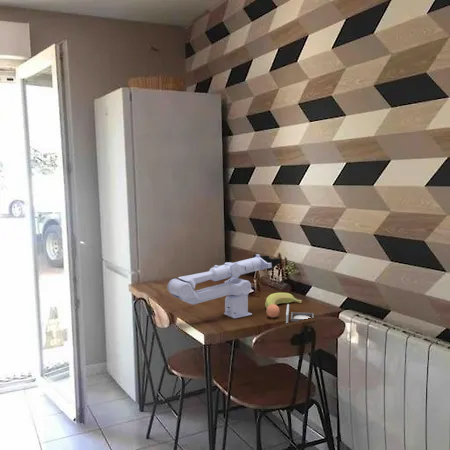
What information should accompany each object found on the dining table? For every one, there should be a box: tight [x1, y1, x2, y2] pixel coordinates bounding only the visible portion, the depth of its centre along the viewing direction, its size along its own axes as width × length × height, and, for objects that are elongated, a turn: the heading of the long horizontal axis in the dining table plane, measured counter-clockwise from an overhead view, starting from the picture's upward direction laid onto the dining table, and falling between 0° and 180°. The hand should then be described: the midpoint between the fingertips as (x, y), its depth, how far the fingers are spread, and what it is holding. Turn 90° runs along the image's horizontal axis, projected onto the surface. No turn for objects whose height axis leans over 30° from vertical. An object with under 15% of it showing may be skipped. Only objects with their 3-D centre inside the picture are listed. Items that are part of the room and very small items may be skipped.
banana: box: [264, 292, 303, 309], centre depth 221 cm, size 14×6×20 cm
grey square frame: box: [290, 311, 315, 322], centre depth 202 cm, size 9×9×1 cm
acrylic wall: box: [285, 303, 290, 325], centre depth 202 cm, size 16×1×4 cm, turn 171°
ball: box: [265, 304, 280, 319], centre depth 203 cm, size 6×6×6 cm
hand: (274, 259), depth 216 cm, fingers open, 7 cm apart
